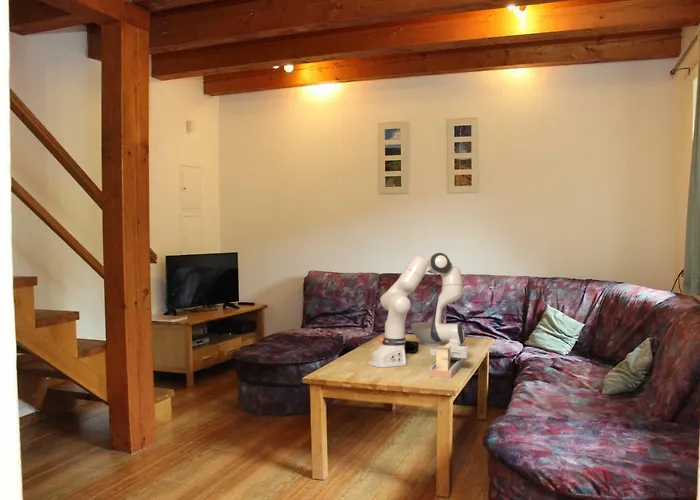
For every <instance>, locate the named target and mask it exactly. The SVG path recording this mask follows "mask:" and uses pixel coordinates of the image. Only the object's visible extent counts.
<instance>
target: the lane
mask: <svg viewBox="0 0 700 500" xmlns="http://www.w3.org/2000/svg"><path fill="white" fill-rule="evenodd" d="M463 366H464V358H458V359H450V369H449V370H448V371H444V370H436V361H435V362H434V363H433V364H432V365H431V366H429V377H431V378H432V377H435V378H442V379H445V378H447V379H452V378H453V377H454V376H455V375H456V374H457V373H458V372H459V370H461V368H462V367H463Z"/></svg>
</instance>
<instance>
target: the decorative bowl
mask: <svg viewBox="0 0 700 500" xmlns="http://www.w3.org/2000/svg"><path fill="white" fill-rule="evenodd" d="M432 322H433V321H426V322H425V321H423V322H421V321H420V322H414V323H411V326H410V327H411V330H412V332H413V334H414V336H415V338H416V339H417V340H419V341H420V342H421V343H422V344H423V345H425V346H441V345H442V343H443V342H444V341H442V342H436V341H434V340H433V339H432V338H431V335H430V331H431V327H432ZM441 324H447V323H445V322H441ZM440 344H441V345H440Z"/></svg>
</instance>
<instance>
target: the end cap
mask: <svg viewBox="0 0 700 500" xmlns="http://www.w3.org/2000/svg"><path fill="white" fill-rule="evenodd" d="M419 348H420V345H419V341H414V340H413V341H412V340H405V354H409V355H410V354H411V355H412V354H413V355H415V354H417V353H418V351H419Z"/></svg>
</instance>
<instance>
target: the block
mask: <svg viewBox="0 0 700 500" xmlns="http://www.w3.org/2000/svg"><path fill="white" fill-rule="evenodd" d="M436 347H437V348H436V356H435V357H436V359H435V362H436V370H444V371H448V370H449V369H450V348H451V347H444V346H442V345H438V346H436Z"/></svg>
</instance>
